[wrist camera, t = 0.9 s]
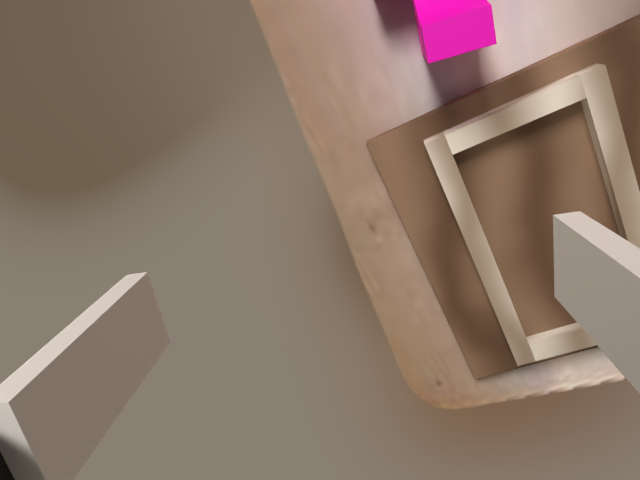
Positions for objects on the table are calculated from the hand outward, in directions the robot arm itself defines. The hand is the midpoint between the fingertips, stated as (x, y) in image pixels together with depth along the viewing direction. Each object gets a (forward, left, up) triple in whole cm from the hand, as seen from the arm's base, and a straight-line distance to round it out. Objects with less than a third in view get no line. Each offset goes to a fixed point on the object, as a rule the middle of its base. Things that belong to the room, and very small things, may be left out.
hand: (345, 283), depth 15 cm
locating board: (-9, +12, -23) cm, 28 cm away
